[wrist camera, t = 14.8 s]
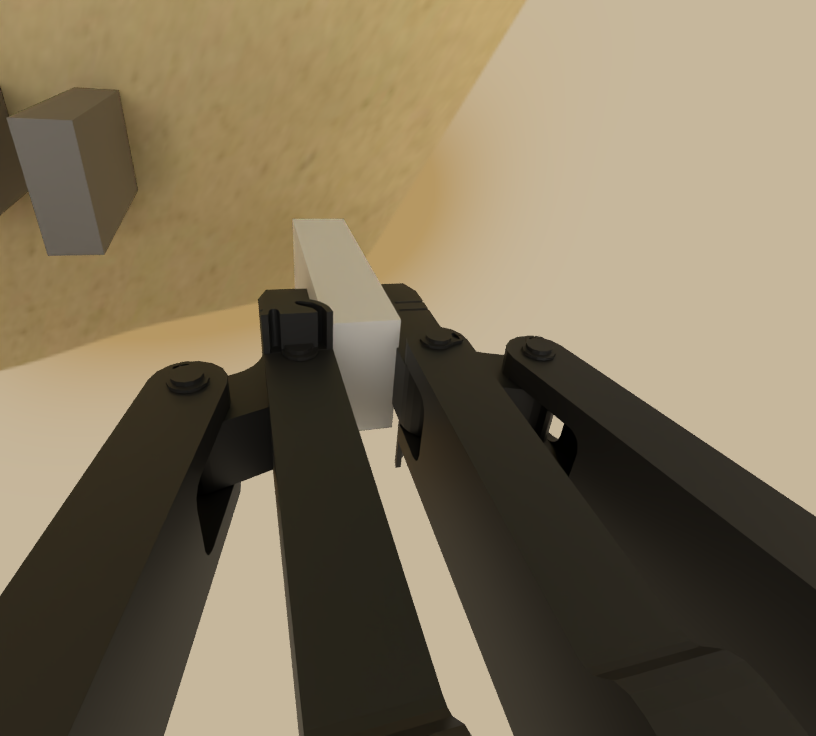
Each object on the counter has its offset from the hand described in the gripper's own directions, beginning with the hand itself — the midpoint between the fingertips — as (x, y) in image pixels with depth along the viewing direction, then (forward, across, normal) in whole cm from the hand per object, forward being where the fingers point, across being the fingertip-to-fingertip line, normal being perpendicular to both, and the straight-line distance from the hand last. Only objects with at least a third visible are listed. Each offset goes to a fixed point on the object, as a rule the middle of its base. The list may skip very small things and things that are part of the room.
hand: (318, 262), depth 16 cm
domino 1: (+18, -9, 0) cm, 20 cm away
